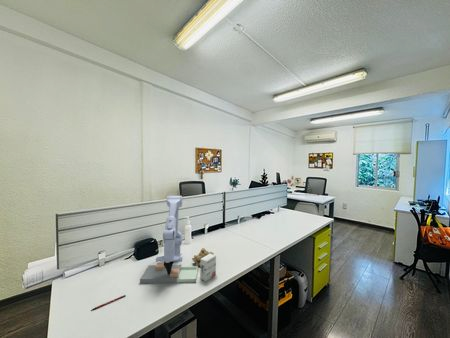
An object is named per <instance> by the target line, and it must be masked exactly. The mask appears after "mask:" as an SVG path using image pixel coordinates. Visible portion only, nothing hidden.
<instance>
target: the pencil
mask: <svg viewBox="0 0 450 338" xmlns="http://www.w3.org/2000/svg"><path fill="white" fill-rule="evenodd" d="M126 297H127V296H126V294H124V295H122V296H119V297H117V298H115V299H112V300H109V301H107V302H104V303H102V304H100V305H97V306H95V307H93V308H92V309H91V310H90V311H91V312H92V311H96V310H98V309H100V308H103V307H105V306H107V305H109V304H111V303H114V302H116V301H119V300H121V299H124V298H126Z"/></svg>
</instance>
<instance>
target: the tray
mask: <svg viewBox="0 0 450 338" xmlns="http://www.w3.org/2000/svg"><path fill="white" fill-rule="evenodd" d="M198 272H199V266H196V265H195V266H193V265H192V266H191V265H190V266H189V265H188V266H185V265H184V266H182V265H181V271H180V274H179V277H178V279H177V283H176V284H179V283H180V284H184V283H185V284H186V283H189V284H190V283H191V284H192V283H193V284H194V283H197V278H198V277H197V276H198Z"/></svg>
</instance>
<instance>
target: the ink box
mask: <svg viewBox="0 0 450 338" xmlns="http://www.w3.org/2000/svg"><path fill="white" fill-rule="evenodd" d="M213 254H214V253H213ZM213 254H211V253H210V254H208V255H206V256H205V257H203V258H201V259H200V266H199V267H200V269H199V270H200V271H199V273H200V274H199V275H200V277H199V278H200V279H201V280H202V281H204V282H208V281H209V280H210V279H211V278H213V277H214V276H216V275H217V273H216V271H217V266H216V265H217V259H216V258H217V255H215V254H214V255H213Z"/></svg>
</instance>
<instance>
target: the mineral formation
mask: <svg viewBox="0 0 450 338" xmlns="http://www.w3.org/2000/svg"><path fill="white" fill-rule="evenodd" d="M210 253H211V254H213V255H215V254H214V252H212V251H208V250H207V249H205V248H204V247H202V248H201V250H200V252H198V254H197V255H195V254H194V255H193V257H192V262H193V263H195V266H198V267H200V259H201V258H203V257H205V256H206V255H208V254H210Z"/></svg>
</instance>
